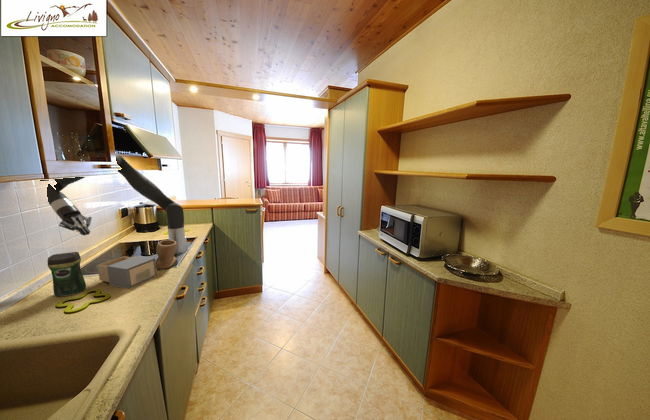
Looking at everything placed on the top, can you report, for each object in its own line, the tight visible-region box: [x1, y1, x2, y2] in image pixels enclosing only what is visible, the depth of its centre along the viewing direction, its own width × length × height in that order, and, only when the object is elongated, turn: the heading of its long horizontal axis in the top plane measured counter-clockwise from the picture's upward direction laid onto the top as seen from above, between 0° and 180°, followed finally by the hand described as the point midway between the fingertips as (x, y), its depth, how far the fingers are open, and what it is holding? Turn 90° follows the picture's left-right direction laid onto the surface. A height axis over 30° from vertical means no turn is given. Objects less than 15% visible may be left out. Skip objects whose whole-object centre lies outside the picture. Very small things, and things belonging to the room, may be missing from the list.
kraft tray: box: [96, 256, 155, 286], centre depth 116 cm, size 12×20×8 cm, turn 77°
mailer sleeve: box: [107, 255, 158, 290], centre depth 115 cm, size 14×12×10 cm
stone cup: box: [155, 239, 178, 270], centre depth 133 cm, size 15×12×15 cm
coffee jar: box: [47, 251, 87, 298], centre depth 102 cm, size 10×8×19 cm
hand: (87, 234), depth 118 cm, fingers closed
